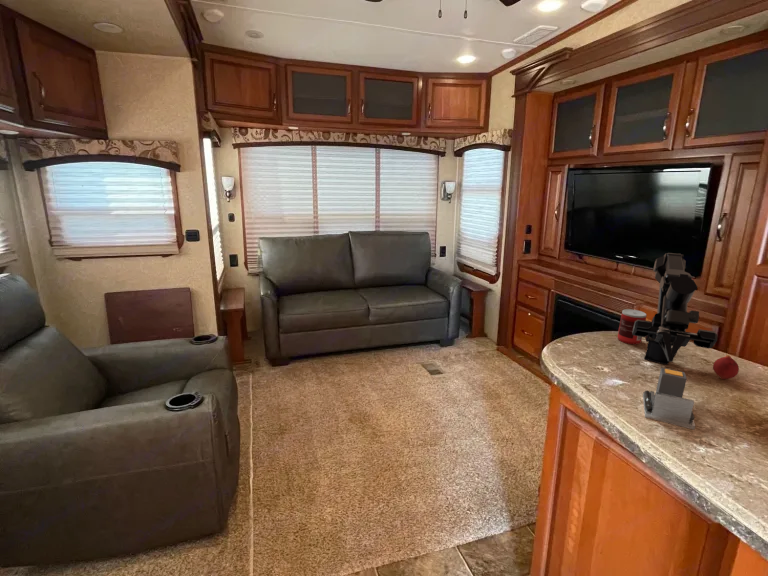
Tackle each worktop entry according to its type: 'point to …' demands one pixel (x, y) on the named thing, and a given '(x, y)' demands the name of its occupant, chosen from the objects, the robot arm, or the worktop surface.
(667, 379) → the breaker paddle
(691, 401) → the grey handled base plate
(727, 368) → the onion
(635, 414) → the worktop surface
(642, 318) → the canned food
